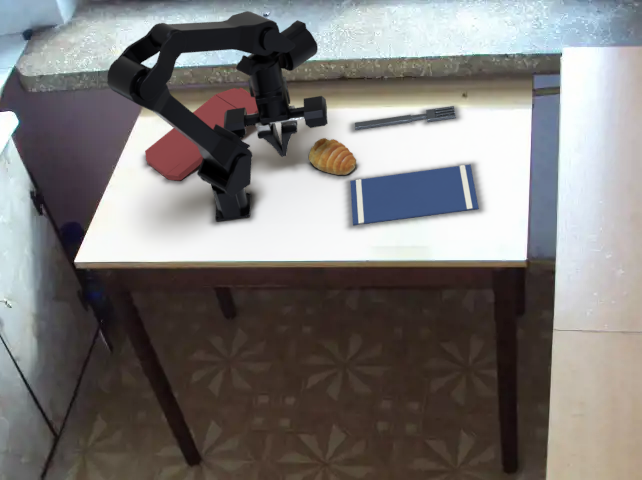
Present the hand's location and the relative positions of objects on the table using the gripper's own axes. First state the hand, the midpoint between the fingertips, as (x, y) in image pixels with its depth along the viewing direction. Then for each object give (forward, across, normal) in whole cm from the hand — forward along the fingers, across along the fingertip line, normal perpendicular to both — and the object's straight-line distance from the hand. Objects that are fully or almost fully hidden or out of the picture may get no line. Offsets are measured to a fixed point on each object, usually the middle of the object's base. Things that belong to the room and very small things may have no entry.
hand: (284, 155), depth 178 cm
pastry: (+3, -9, 0) cm, 10 cm away
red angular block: (+3, +16, -12) cm, 21 cm away
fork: (+3, -23, -10) cm, 25 cm away
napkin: (+3, -23, +13) cm, 26 cm away
